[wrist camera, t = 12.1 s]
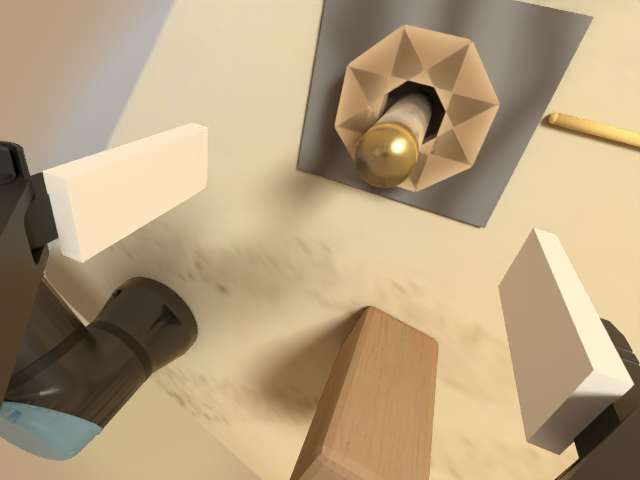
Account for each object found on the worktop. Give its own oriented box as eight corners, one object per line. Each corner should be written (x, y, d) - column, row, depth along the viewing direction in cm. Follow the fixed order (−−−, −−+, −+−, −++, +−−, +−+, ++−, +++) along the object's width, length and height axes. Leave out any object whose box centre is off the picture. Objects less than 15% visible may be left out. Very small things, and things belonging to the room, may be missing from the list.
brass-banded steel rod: (391, 121, 34) (347, 177, 20) (402, 84, 32) (362, 119, 19) (426, 131, 33) (404, 195, 20) (439, 93, 31) (425, 136, 18)
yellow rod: (545, 121, 30) (547, 123, 30) (551, 110, 30) (553, 112, 29) (661, 151, 29) (666, 154, 28) (669, 140, 28) (675, 143, 27)
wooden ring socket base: (299, 166, 40) (282, 180, 36) (334, -37, 30) (315, -47, 26) (484, 225, 36) (486, 247, 32) (591, 17, 26) (613, 14, 23)
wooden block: (339, 347, 51) (281, 498, 34) (369, 300, 45) (316, 453, 29) (403, 382, 50) (375, 554, 33) (442, 339, 44) (431, 519, 28)
